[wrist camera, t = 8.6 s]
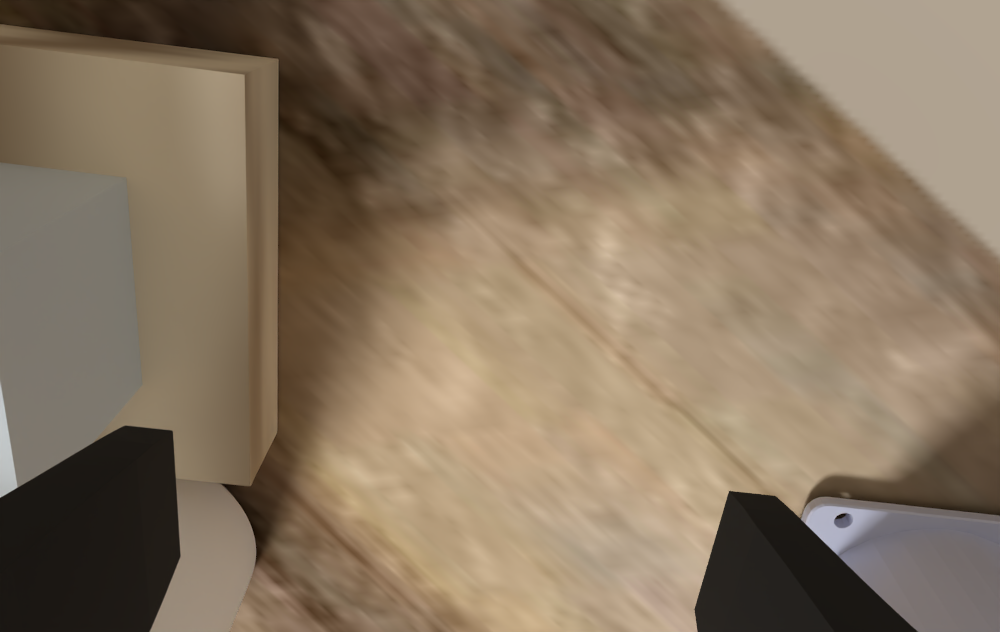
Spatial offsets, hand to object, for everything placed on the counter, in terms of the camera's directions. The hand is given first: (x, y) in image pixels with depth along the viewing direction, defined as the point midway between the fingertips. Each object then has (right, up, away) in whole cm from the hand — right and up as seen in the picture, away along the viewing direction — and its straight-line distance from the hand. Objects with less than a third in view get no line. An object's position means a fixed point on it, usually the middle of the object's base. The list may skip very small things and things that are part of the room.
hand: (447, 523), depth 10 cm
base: (-10, +5, +10) cm, 14 cm away
